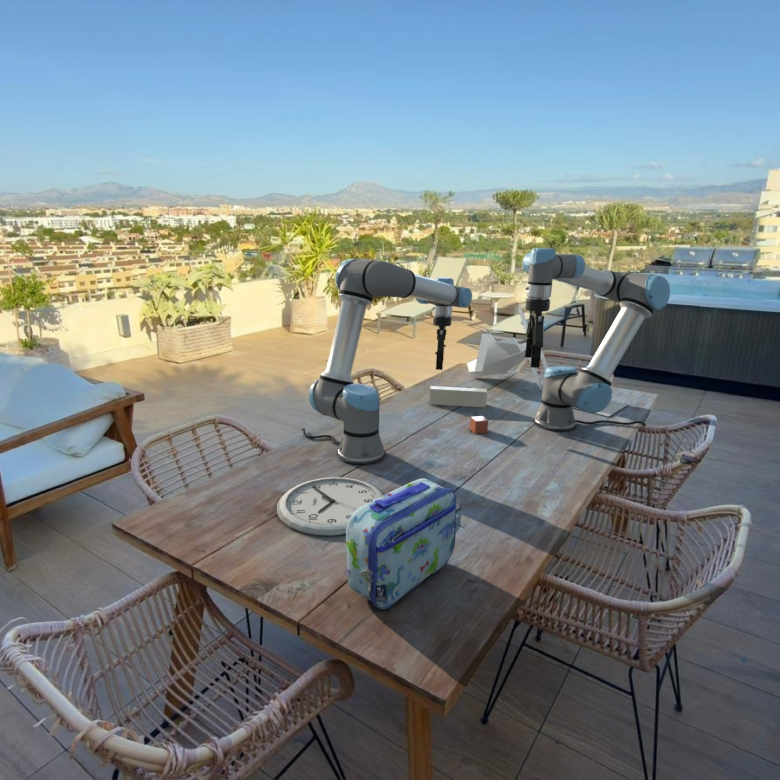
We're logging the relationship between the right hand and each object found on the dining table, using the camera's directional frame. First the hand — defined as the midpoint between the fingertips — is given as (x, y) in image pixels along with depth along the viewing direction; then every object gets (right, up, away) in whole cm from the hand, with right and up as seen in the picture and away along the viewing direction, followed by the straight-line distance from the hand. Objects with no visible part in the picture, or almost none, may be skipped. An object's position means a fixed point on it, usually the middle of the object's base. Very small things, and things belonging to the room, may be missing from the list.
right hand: (531, 362), depth 174 cm
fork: (-31, -43, -36) cm, 64 cm away
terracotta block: (-14, -25, +23) cm, 37 cm away
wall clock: (-63, -41, -31) cm, 81 cm away
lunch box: (-45, -50, -61) cm, 91 cm away
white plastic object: (+10, -6, +83) cm, 84 cm away
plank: (-18, -15, +52) cm, 58 cm away
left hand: (-26, +1, +48) cm, 55 cm away
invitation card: (+44, -17, +52) cm, 70 cm away
